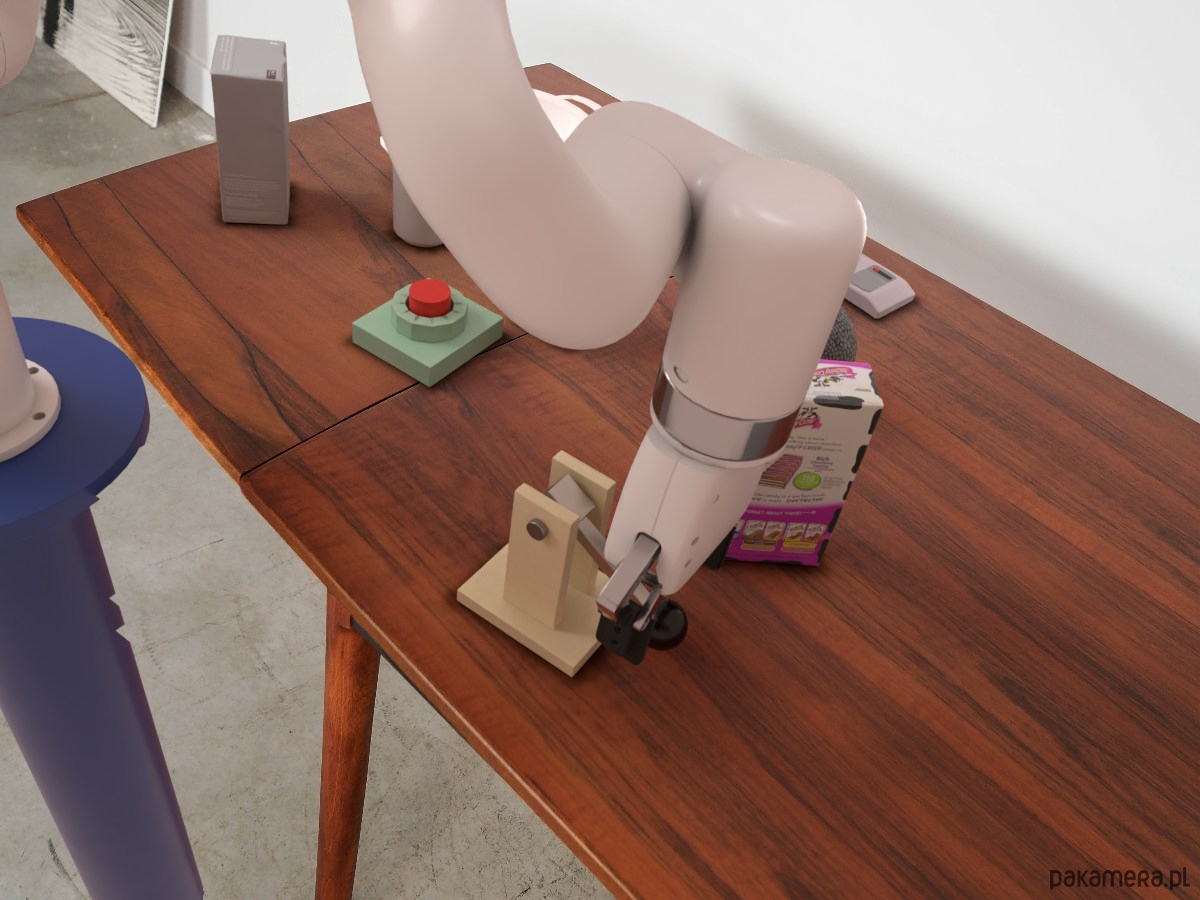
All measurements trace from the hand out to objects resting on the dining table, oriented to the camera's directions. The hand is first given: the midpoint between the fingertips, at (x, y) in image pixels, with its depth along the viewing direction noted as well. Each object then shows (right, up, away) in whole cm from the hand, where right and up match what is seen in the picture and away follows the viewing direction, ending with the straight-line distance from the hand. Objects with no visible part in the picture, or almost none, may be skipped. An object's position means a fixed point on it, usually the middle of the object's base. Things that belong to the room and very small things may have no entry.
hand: (660, 601), depth 64 cm
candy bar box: (+7, +3, +15) cm, 17 cm away
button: (-19, +22, +25) cm, 38 cm away
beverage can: (-22, +32, +40) cm, 56 cm away
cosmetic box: (-39, +35, +40) cm, 65 cm away
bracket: (-8, -1, +8) cm, 11 cm away
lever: (-4, +1, +2) cm, 5 cm away
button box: (-19, +20, +28) cm, 39 cm away
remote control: (+23, +27, +45) cm, 57 cm away
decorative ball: (+13, +15, +29) cm, 35 cm away
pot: (-16, +42, +53) cm, 69 cm away
